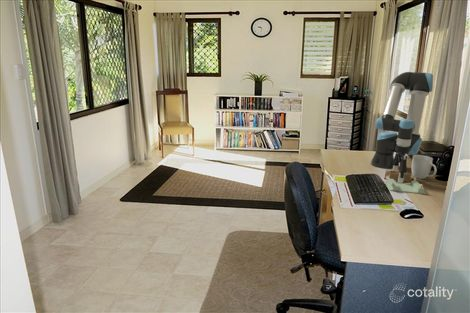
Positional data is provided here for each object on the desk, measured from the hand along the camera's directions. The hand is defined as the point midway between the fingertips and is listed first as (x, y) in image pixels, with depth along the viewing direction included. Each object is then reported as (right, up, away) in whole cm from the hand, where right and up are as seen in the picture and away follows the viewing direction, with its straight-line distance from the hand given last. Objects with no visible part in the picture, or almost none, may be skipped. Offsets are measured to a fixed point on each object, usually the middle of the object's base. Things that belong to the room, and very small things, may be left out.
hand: (397, 179), depth 215 cm
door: (0, 0, 0) cm, 0 cm away
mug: (+17, 0, +6) cm, 18 cm away
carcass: (-3, -4, -15) cm, 16 cm away
